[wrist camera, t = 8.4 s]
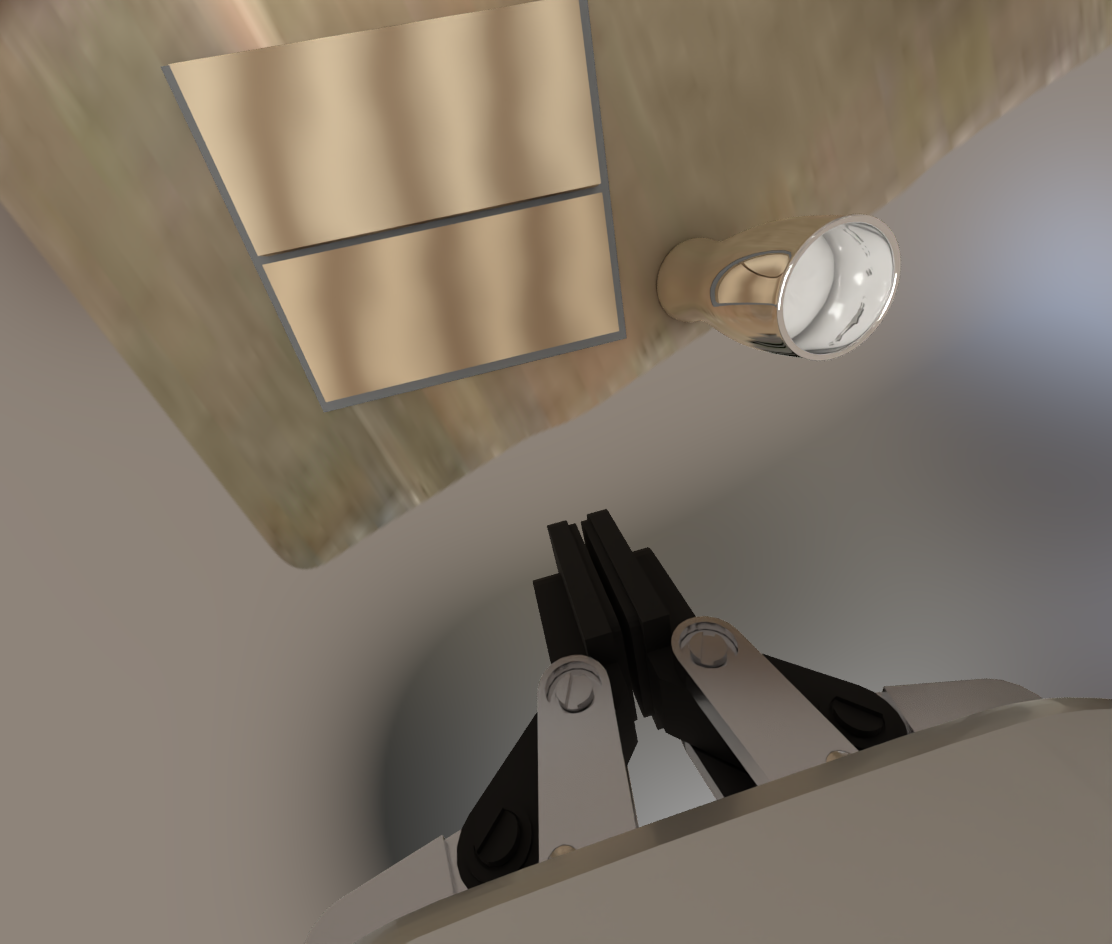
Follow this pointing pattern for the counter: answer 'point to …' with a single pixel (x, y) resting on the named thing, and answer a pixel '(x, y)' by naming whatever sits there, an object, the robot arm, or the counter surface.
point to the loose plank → (450, 296)
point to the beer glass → (788, 283)
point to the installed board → (398, 123)
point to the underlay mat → (461, 373)
